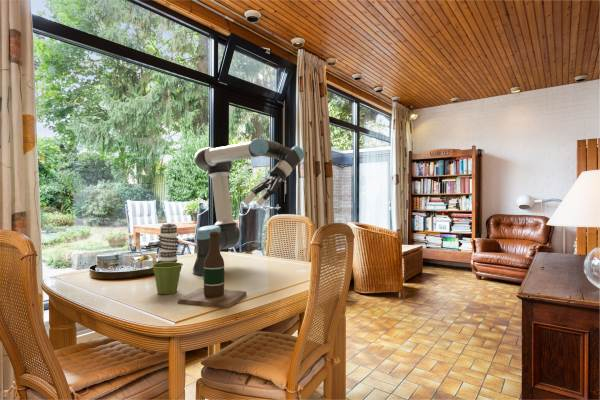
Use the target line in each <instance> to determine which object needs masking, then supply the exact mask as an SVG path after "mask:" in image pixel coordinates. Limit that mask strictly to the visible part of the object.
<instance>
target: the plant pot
mask: <svg viewBox="0 0 600 400" xmlns="http://www.w3.org/2000/svg"><path fill="white" fill-rule="evenodd" d="M182 266H184V263H182V262H178V261H177V262H165V263H160V262H157V263H153V264H152V265H151V268H152V269H153V273H154V279H155V285H156V290H157V294H159V295H162V294H163V295H165V296H166V295H173V294H175V293H177V291H178V286H179V281H180V280H179V279H180V275H181V272H182Z"/></svg>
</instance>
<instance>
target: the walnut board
mask: <svg viewBox="0 0 600 400" xmlns="http://www.w3.org/2000/svg"><path fill="white" fill-rule="evenodd" d="M246 296H247V291H243V290H235V289H233V290H231V289H224V295H222V296H220V297H215V298H209V297H205V295H204V287H199V288H197V289H195V290H193V291H191V292H189V293H187V294H185V295H183V296H181V297H178V299H177V304H181V305H182V304H184V305H190V306H191V305H194V306H201V307H202V306H203V307H204V306H205V307H212V308H213V307H214V308H224V309H225V308H226V309H229V308H231V307H232V306H233V305H235V304H236V303H238V302H239V301H240V300H242V299H243V298H245V297H246Z"/></svg>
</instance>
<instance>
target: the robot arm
mask: <svg viewBox="0 0 600 400" xmlns="http://www.w3.org/2000/svg"><path fill="white" fill-rule="evenodd" d="M305 154H306V153H305V152H304V150H303V149H302V148H301V147H299V146H298V145H294V146H293V147H291V148H290V147H287V146H286V145H283V144H281V143H279V142H277V141H275V140H267V139H264V138H259V137H255V138H253V139H252V140H251V141H246V142H241V143H236V144H230V145H226V146H219V147H212V146H209V147H202V148H199V149H198V150H197V151H196V152H195V154H194V163H195V165H196V166H197V167H198V168H199V169H200V170H203V171H207V173H208V177H210V178H211V184H212V192H213V193H212V194H213V200H214V209H215V217H216V222H215V223H214V224H213V225H204V226H200V227H199V228H198V229H197V231H196V258H195V262H194V265H193V267H192V274H194V275H197V276H204V261H205V258H206V256H207V255H208V253H209V246H210V235H209V234H210V232H219V251H220V252H221V250H225V249H232V248H234V247H236V246H238V245H239V244H240V243H241V240H242V234H243V233H242V230H241V229H240V228H239V227H238V226H237V222H236V221H235V220H234V219H233V212H232V203H231V195H230V193H231V192H230V186H229V185H230V184H229V176H230V174H231V170H232V169H233V165H234V161H239V160H245V159H250V158H257V157H267V158H272V159H275V160H278V162H277V164H275V165H274V167H273V168H272V169H271V170H270V171H269V176H270V177H265V178H264V179H263V180H261V182H259V183H258V184H256V185H255V186H253V188H251V190H250V193H249V194H248V195H246V197H245V199H244V200H242V202H243V203H244V205H246V206H248V205H249V204H250V203H251V202H252V201H253V200H254V199H255V198H256V197H257V196H258V194H260V193H261V192H263V191H264V190H265V191H264V192H263V194H262V195H261V196H260V197H258V199H257V201H256V202H255V203H256V204H257V205H258V206H259V207H262V205H263V204H264V203H266V201H267V200H268V199H269V198H270V197H271V196H272V195H273V196H274V195H276V194H277V191H278V189H279V187H280V186H281V184H282V183H283V181H285V180H286V179H287V177H288V176H290V175H291V173H292V172H293V170H294V169H295V168H296V167H297V166H298V165H299V164H300V163H301V162H302V161H303V159H304V158H305Z"/></svg>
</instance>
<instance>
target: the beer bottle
mask: <svg viewBox="0 0 600 400" xmlns="http://www.w3.org/2000/svg"><path fill="white" fill-rule="evenodd" d="M209 235H210V246H209V253H208V255H207V256H206V258H205V261H204V275H203V288H204V295H205V297H209V298H215V297H220V296H222V295H224V290H225V261H224V258H223V256H222V254H221V250H220V251H219V232H210V234H209Z"/></svg>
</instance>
